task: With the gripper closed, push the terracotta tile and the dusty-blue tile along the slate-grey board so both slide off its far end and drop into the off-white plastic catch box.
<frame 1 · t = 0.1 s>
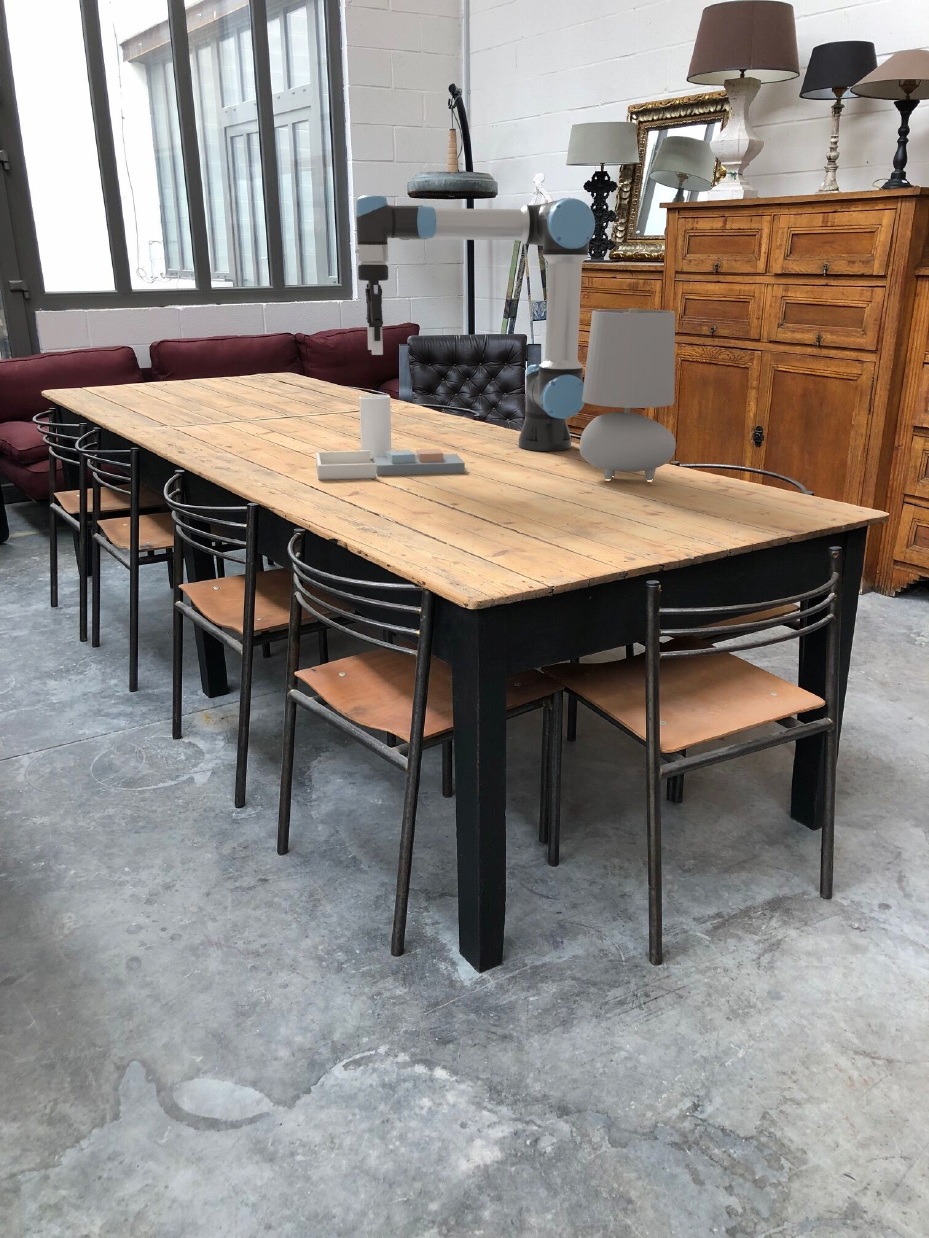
hand: (375, 352, 247), 28 cm above the table, fingers open, 13 cm apart
terracotta tile: (429, 459, 246), point 2 cm above the table, touching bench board
table lamp: (624, 481, 235), on the table
blue tile: (400, 460, 244), point 2 cm above the table, touching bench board
cup: (376, 457, 262), on the table
catch box: (345, 471, 243), on the table
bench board: (418, 469, 246), on the table
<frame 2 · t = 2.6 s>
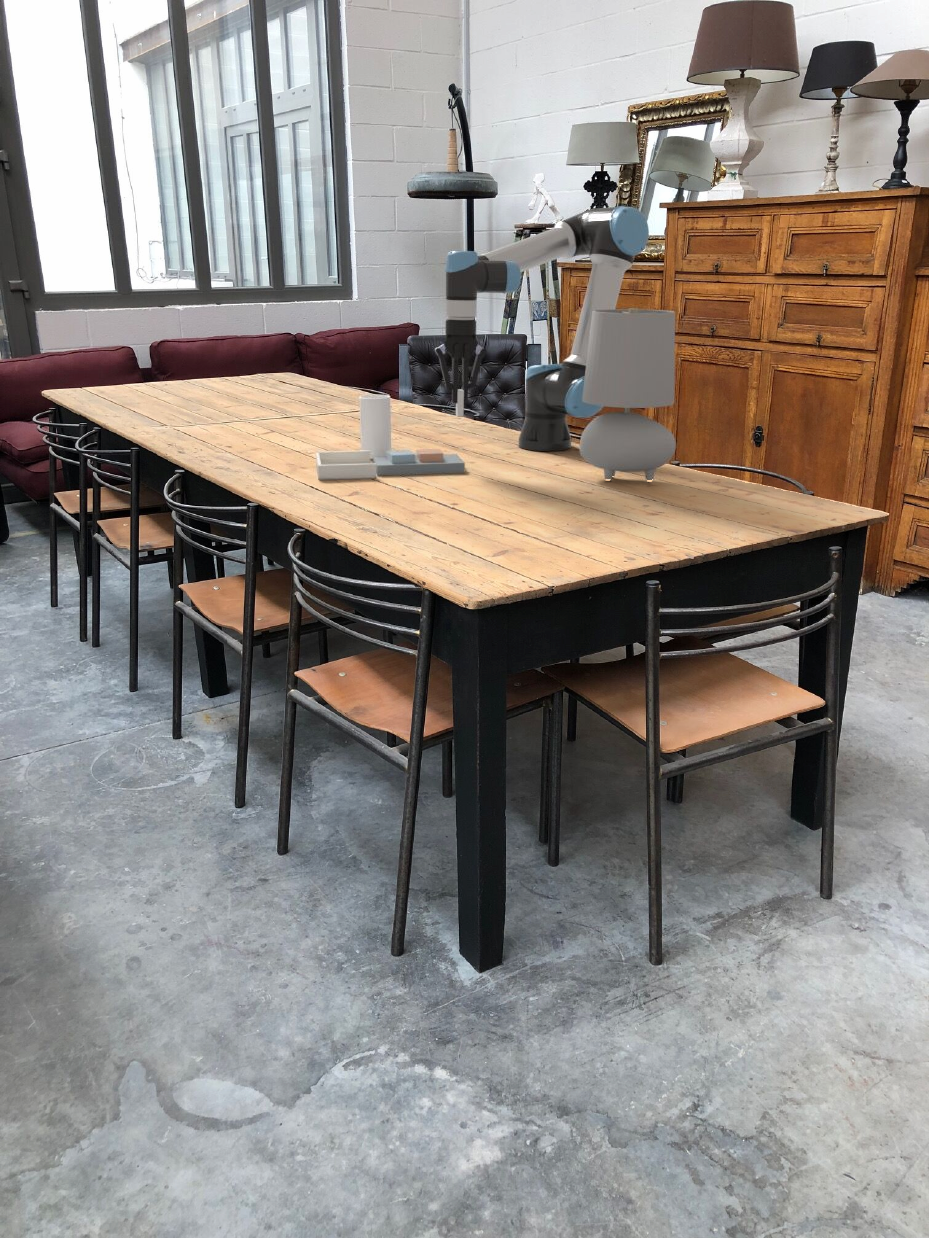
hand: (459, 416, 243), 13 cm above the table, fingers closed
nothing on the table moved.
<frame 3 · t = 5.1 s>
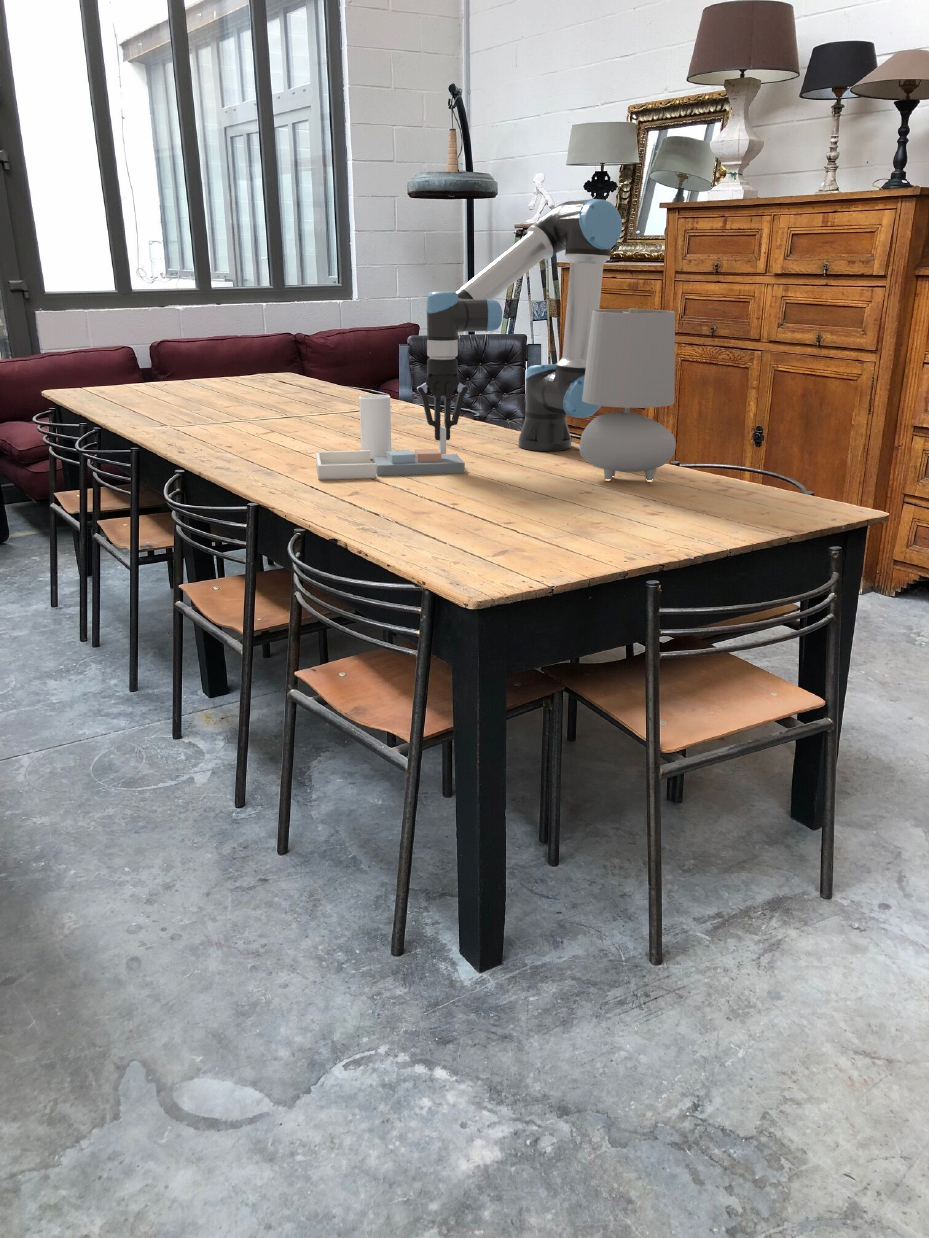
hand: (442, 453, 246), 4 cm above the table, fingers closed
nothing on the table moved.
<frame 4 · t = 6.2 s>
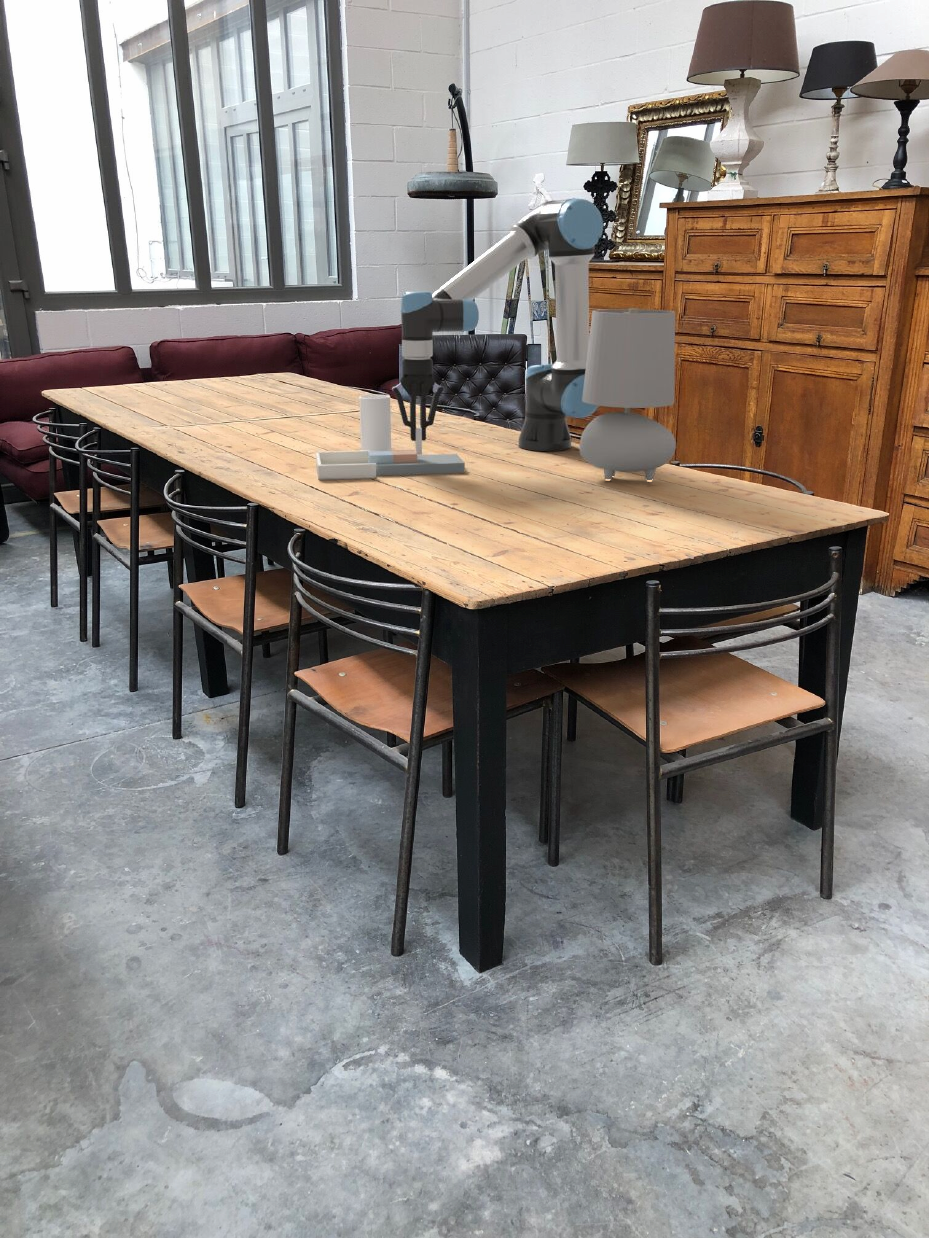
hand: (418, 453, 245), 4 cm above the table, fingers closed
terracotta tile: (404, 460, 245), point 3 cm above the table, touching blue tile, gripper
blue tile: (380, 460, 244), point 2 cm above the table, touching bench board, terracotta tile
everything else where it was.
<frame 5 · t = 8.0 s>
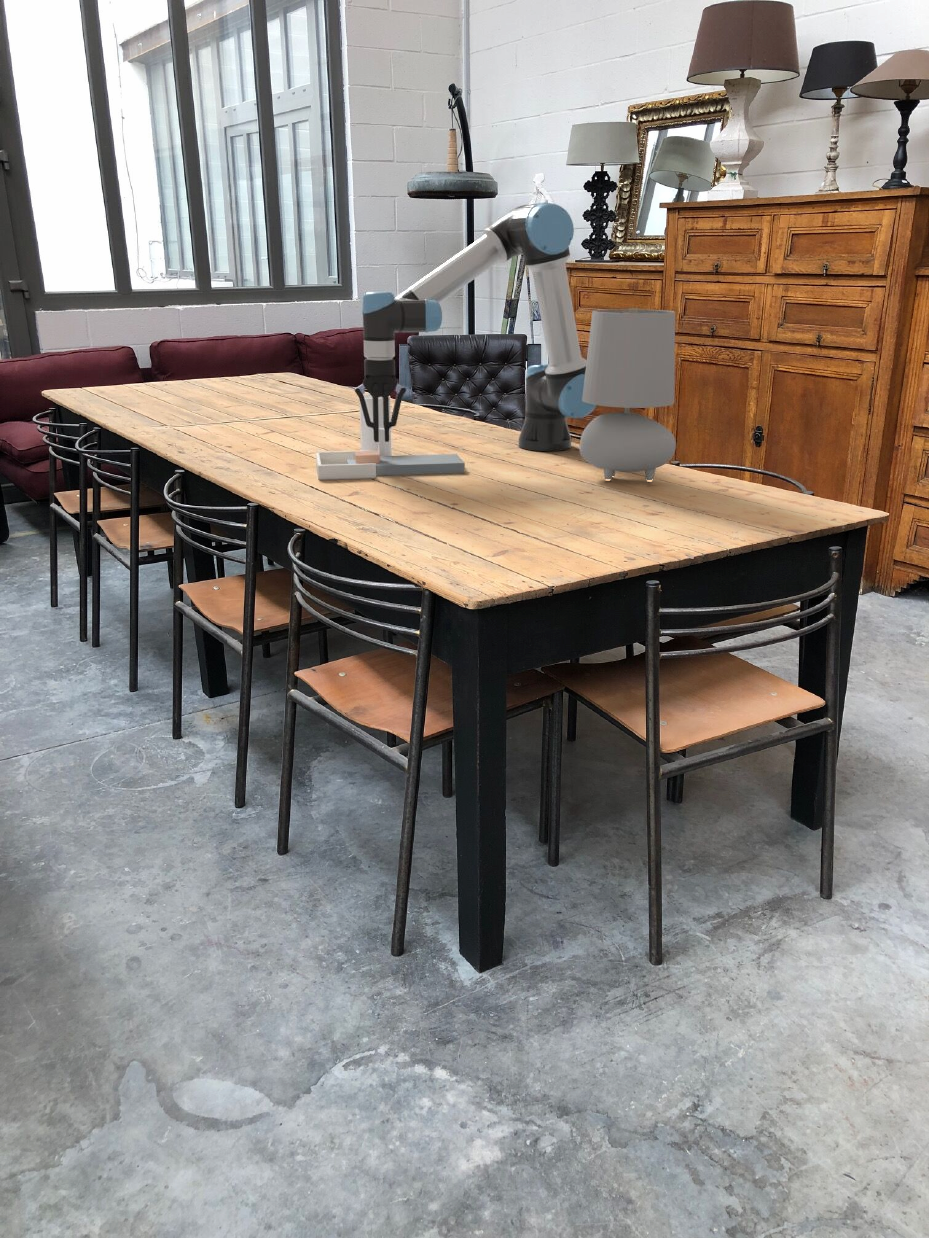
hand: (381, 454, 243), 4 cm above the table, fingers closed
terracotta tile: (367, 461, 243), point 2 cm above the table, touching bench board, blue tile, gripper
blue tile: (359, 469, 243), resting on catch box, touching terracotta tile
everything else where it was.
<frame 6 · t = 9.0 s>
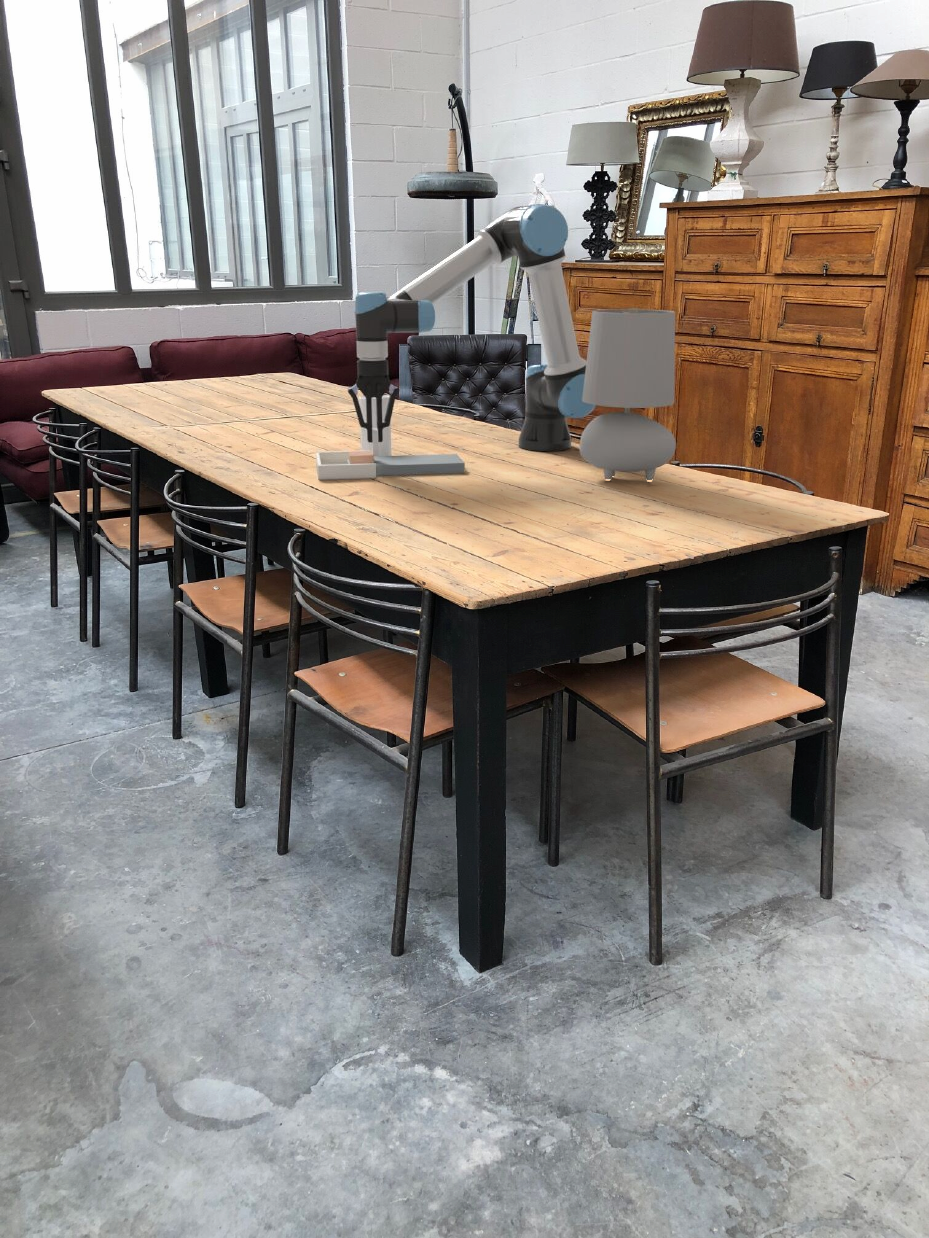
hand: (375, 455, 243), 4 cm above the table, fingers closed
terracotta tile: (361, 461, 243), point 2 cm above the table, touching blue tile, gripper
everything else where it was.
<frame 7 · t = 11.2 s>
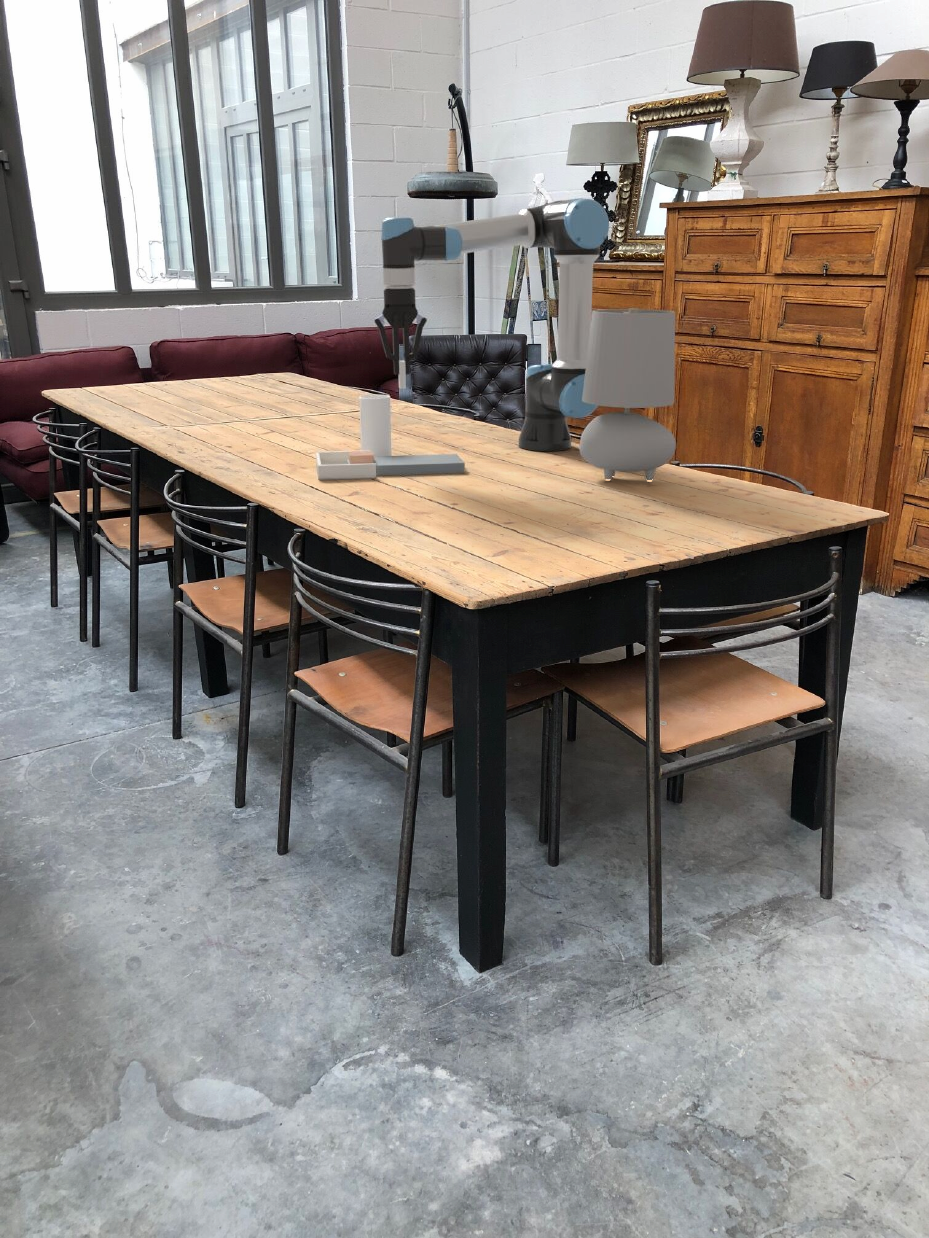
hand: (402, 388, 239), 20 cm above the table, fingers closed
terracotta tile: (361, 461, 243), point 2 cm above the table, touching blue tile
everything else where it was.
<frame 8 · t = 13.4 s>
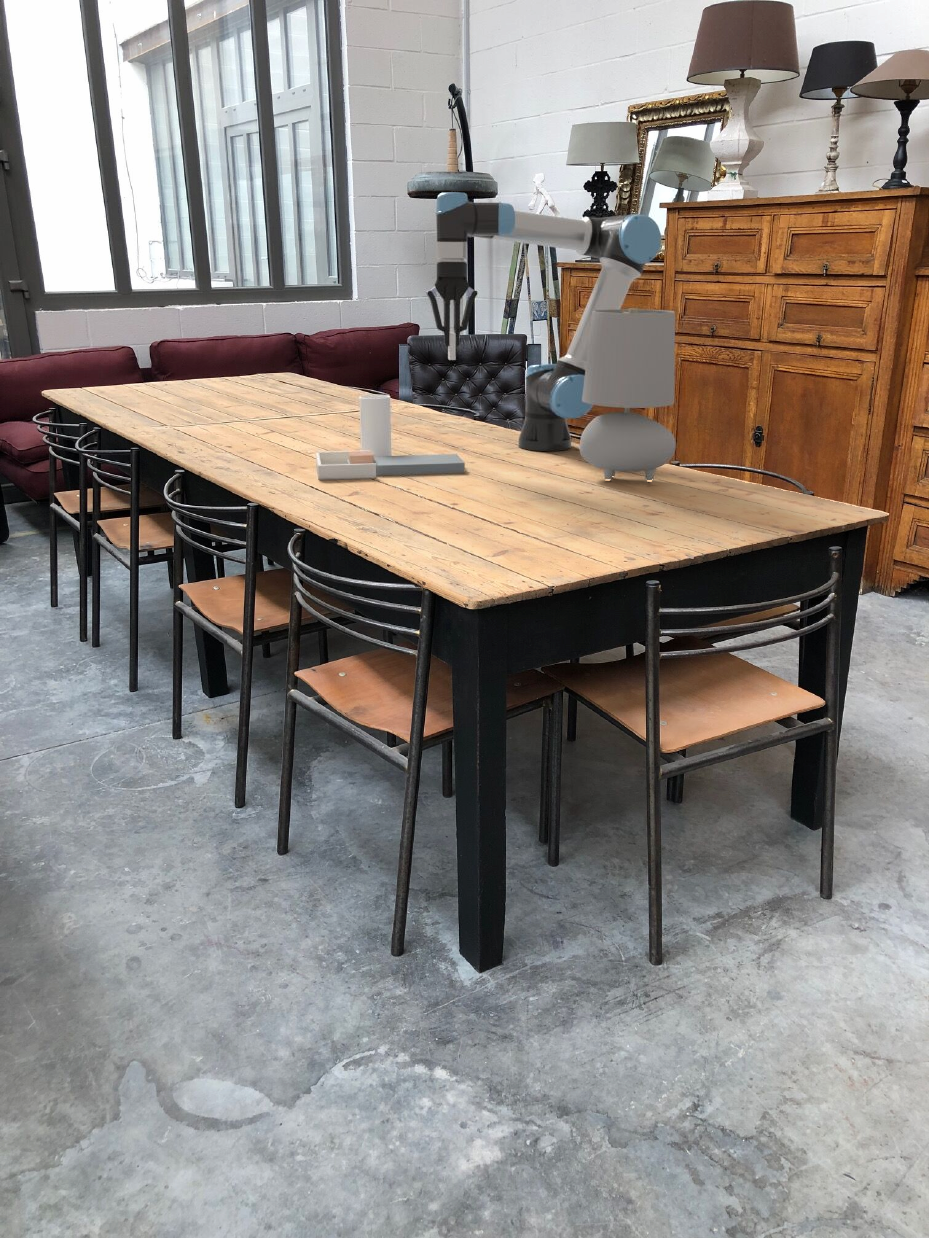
hand: (451, 359, 246), 26 cm above the table, fingers closed
nothing on the table moved.
at the end: terracotta tile inside the target area on the catch box (4.0 cm from its centre), point 2.5 cm above the catch box's base; blue tile inside the target area on the catch box (3.6 cm from its centre), point 0.5 cm above the catch box's base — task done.
